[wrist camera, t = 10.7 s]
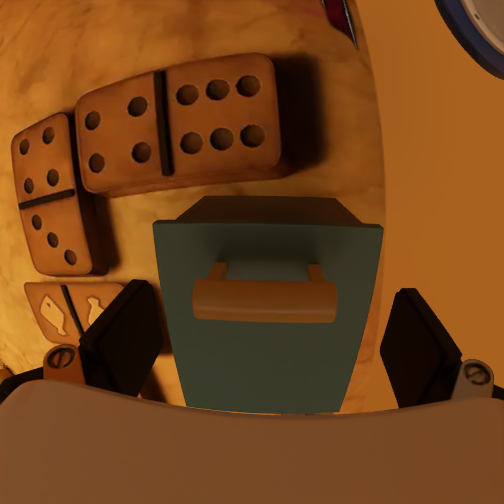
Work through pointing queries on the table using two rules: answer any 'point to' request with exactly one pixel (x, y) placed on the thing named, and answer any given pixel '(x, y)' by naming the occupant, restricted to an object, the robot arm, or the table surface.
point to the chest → (269, 209)
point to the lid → (266, 310)
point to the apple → (4, 374)
